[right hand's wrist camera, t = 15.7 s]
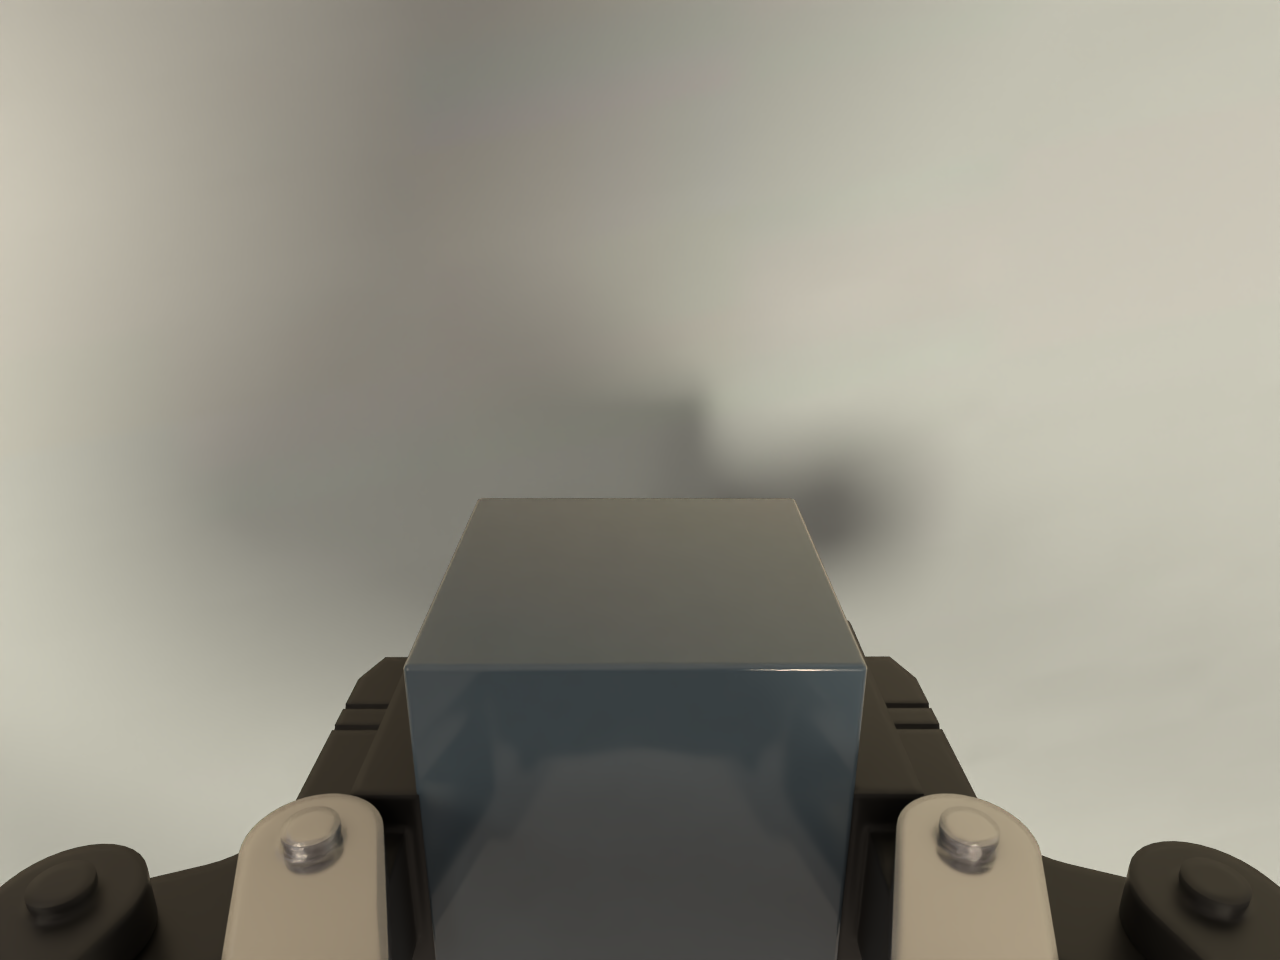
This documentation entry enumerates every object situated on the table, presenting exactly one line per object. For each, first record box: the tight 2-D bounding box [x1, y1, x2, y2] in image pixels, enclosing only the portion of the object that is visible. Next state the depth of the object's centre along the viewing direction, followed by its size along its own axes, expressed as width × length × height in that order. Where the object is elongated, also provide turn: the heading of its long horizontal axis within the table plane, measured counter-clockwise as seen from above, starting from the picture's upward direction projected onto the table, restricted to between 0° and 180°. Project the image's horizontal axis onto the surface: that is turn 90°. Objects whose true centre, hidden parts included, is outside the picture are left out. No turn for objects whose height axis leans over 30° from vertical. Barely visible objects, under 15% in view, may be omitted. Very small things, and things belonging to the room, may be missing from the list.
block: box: [403, 498, 867, 960], centre depth 11 cm, size 4×5×4 cm
